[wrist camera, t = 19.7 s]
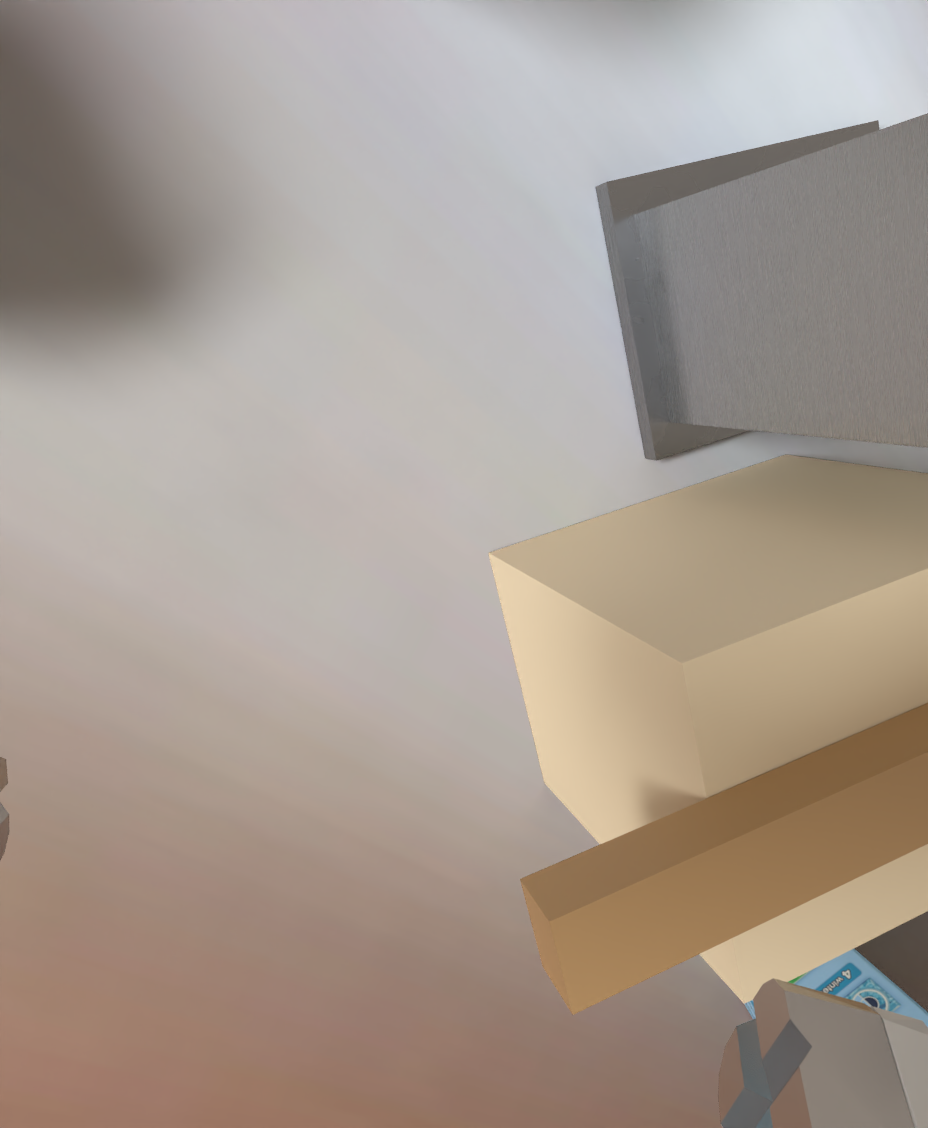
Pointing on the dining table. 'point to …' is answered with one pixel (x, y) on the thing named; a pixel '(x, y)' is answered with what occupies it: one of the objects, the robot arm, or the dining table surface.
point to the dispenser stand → (778, 290)
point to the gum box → (858, 985)
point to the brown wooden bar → (730, 861)
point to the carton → (729, 663)
